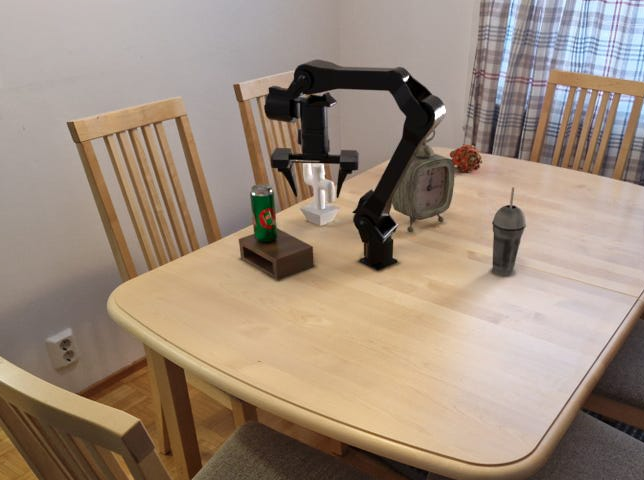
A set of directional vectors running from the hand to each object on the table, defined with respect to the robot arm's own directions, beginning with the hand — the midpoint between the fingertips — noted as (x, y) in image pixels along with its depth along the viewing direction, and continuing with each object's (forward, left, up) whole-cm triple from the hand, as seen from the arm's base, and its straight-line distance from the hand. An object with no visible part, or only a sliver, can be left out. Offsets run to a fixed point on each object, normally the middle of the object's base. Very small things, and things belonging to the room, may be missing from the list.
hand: (317, 197), depth 145 cm
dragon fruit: (+15, -71, -13) cm, 74 cm away
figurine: (+13, -11, -13) cm, 22 cm away
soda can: (+4, +12, -8) cm, 15 cm away
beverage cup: (-36, -24, -13) cm, 45 cm away
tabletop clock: (-5, -29, -13) cm, 32 cm away
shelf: (+1, +11, -13) cm, 17 cm away
